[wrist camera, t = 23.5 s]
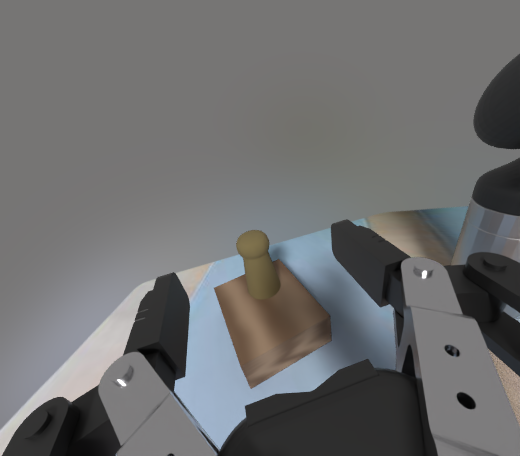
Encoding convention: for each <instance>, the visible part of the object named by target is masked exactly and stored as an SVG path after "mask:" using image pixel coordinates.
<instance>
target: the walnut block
mask: <svg viewBox="0 0 520 456" xmlns="http://www.w3.org/2000/svg"><path fill="white" fill-rule="evenodd" d="M272 263H273V265H274V268H275V270H276V273H277V275H278V278H279V280H280V283H281V287H280V289H279V291H278V292H277V293H276V294H275V295H274V296H272V297H271V298H268V299H261V300H260V299H255V298H253V297H251V296H250V294H249V293H248V288H247V281H246V274H244V275H242V276H240V277H238V278H235V279H233V280H231V281H229V282H227V283H224V284H222V285H220V286H218V287H215V288H214V290H215V293H216V296H217V298H218V301H219V304H220V307H221V310H222V313H223V316H224V319H225V322H226V325H227V328H228V331H229V334H230V337H231V339H232V342H233V345H234V348H235V351H236V354H237V357H238V360H239V363H240V366H241V368H242V370H243V373H244V375H245V377H246V379H247V381H248V384H249V386H250V388H251V389H252V388H253V387H255V386H257V385H258V384H260V383H262V382H263V381H265V380H267V379H268V378H270V377H272V376H273V375H275V374H277V373H278V372H280V371H282V370H283V369H285V368H287V367H288V366H290V365H292V364H293V363H295V362H297V361H298V360H300V359H302V358H303V357H305V356H307V355H308V354H310V353H312V352H313V351H315V350H317V349H318V348H320V347H322V346H323V345H325V344H327V343H328V342H330V341H332V339H331V322H330V315H329V314H328V313H327V312H326V311H325V310H324V309H323V307H322V306H321V305H320V304H319V303H318V302H317V301H316V300H315V299H314V298H313V296H312V295H311V294H310V293H309V292H308V291H307V290H306V289H305V288H304V286H303V285H302V284H301V283H300V282H299V281H298V280H297V279H296V278H295V276H294V275H293V274H292V273H291V272H290V271H289V270H288V269H287V268H286V267H285V265H284V264H283V263H282V262H281V261H280V260H279V259H278V260H276V261H273V262H272Z"/></svg>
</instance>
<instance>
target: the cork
mask: <svg viewBox="0 0 520 456" xmlns="http://www.w3.org/2000/svg"><path fill="white" fill-rule="evenodd" d="M236 246H237V250H238V253H239V254H240V255H241V256H242V257H243V260H244V267H245V274H246V281H247V288H248V293H249V294H250V296H251V297H253V298H255V299H260V300H261V299H268V298H271V297H272V296H274V295H275V294H276V293H277V292H278V291H279V289H280V287H281V283H280V280H279V278H278V275H277V273H276V270H275V268H274V265H273V263H272V260H271V258H270V255H269V253H268V249H269V240H268V238H267V236H266V234H265V233H263V232H262V231H259V230H251V231H248V232H245V233H244V234H242V235H241V236H240V237H239V238H238V240H237V243H236Z"/></svg>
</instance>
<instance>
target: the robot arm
mask: <svg viewBox="0 0 520 456" xmlns="http://www.w3.org/2000/svg"><path fill="white" fill-rule="evenodd" d="M474 128H475V132H476V133H477V136H478V137H479V138H480V139H481V140H482V141H483V142H485V143H486V144H488V145H490V146H494V147H497V148H506V149H520V54H519V55H518V56H516V57H515V58H514V59H513V60H512V61H510V62H509V63H508V64H507V65H506V66H505V67H504V68H503V69H502V70H501V71H500V72H499V73H498V74H497V76H496V77H495V78H494V79H493V80H492V81H491V83H490V84H489V86H488V87H487V88H486V90H485V91H484V93H483V95H482V97H481V99H480V100H479V103H478V105H477V107H476V110H475V115H474ZM331 237H332V251H333V254H334V256H335V258H336V259H337V261H338V262H339V263H340V264H341V265H342V266H343V267H344V268H345V269H346V270H347V272H348V273H349V274H350V275H351V276H352V277H353V278H354V279H355V280H356V281H357V283H358V284H359V285H360V286H361V287H362V288H363V289H364V290H365V291H366V292H367V293H368V295H369V296H370V297H371V298H372V299H373V300H374V301H375V302H376V303H377V304H378V306H379V307H383V306H386V305H388V304H390V305H391V306H392V307H393V308H394V310H393V318H394V331H395V344H396V371H395V370H390V369H382V368H374V367H373V366H372V364H371V363H370V361H369V360H368V359H366V360H364V361H361V362H358V363H356V364H353V365H351V366H348V367H345V368H343V369H340V370H338V371H337V372H336V373H335V374H333V375H332V376H331V377H330V378H328V379H327V380H326V381H325V382H324V383H322V384H321V385H320V386H319V387H317V388H316V389H315V390H313V391H311V392H300V393H283V394H275V395H272V396H270V397H267V398H265V399H262V400H259V401H257V402H254V403H252V404H249V405H246V406H245V410H246V418H245V419H244V420H242V421H241V422H240V423H239V424H238V425H237V426H236V427H235V428H234V430H233V431H232V432H231V434H230V435H229V436H228V438H227V439H226V441H225V442H224V444H223V445H222V447H221V449H219V448H218V447H217V445H216V444H215V443H214V441H213V440H212V439H211V438H210V437H209V435H208V434H207V433H206V432H205V430H204V429H203V428H202V427H201V425H200V424H199V423H198V421H197V420H196V419H195V418H194V416H193V415H192V414H191V412H190V411H189V410H188V408H187V407H186V406H185V405H184V403H183V402H182V401H181V399H180V398H179V397H178V395H177V394H176V393H175V392H174V386H175V380H177V379H180V378H183V377H185V371H186V356H187V342H188V327H189V312H190V303H189V298H188V296H187V293H186V292H185V290H184V288H183V286H182V284H181V282H180V280H179V279H178V277H177V275H176V274H175V273H174V272H173V273H170V274H167V275H164V276H160V277H158V278H157V279H156V282H155V285H154V289H153V290H152V291H149V292H148V293H147V294H146V295H145V297H144V298H143V299H142V301H141V303H140V306H139V309H138V313H137V315H136V318H135V322H134V324H133V327H132V330H131V333H130V336H129V339H128V342H127V345H126V348H125V351H124V354H123V356H122V357H120V358H119V359H117V360H116V361H115V362H114V363H113V364H112V365H111V366H110V367H109V368H108V369H107V370H106V372H105V373H104V375H103V376H102V378H101V381H100V383H99V385H98V386H96V387H95V388H93V389H91V390H90V391H88V392H87V393H85V394H84V395H82V396H80V397H79V398H77V399H76V400H74V401H73V402H70V401H69V400H67V399H66V398H64V397H57V398H53V399H51V400H49V401H47V402H45V403H44V404H42V405H41V406H39V407H38V408H37V409H36V410H34V411H33V412H32V413H31V414H30V415H29V416H28V417H27V418H26V419H25V420H24V421H23V423H22V424H21V425H20V426H19V428H18V429H17V430H16V432H15V433H14V435H13V437H12V438H11V440H10V442H9V444H8V446H7V447H6V449H5V451H4V453H3V455H2V456H116V453H117V456H520V426H519V424H518V421H517V419H516V417H515V414H514V412H513V409H512V407H511V404H510V402H509V399H508V397H507V394H506V392H505V390H504V387H503V385H502V382H501V380H500V377H499V375H498V372H497V370H496V368H495V365H494V363H493V360H492V358H491V355H490V353H489V350H490V351H491V352H493V353H494V354H495V355H496V356H497V357H498V358H499V359H500V360H502V361H503V362H504V363H505V364H506V365H507V366H508V367H509V368H511V369H512V370H513V371H514V372H515V373H516V374H517V375H519V376H520V323H519V322H518V321H517V320H515V319H514V318H517V317H518V316H520V158H518V159H516V160H515V161H512V162H510V163H508V164H506V165H504V166H501V167H499V168H496V169H494V170H491V171H489V172H487V173H485V174H483V175H482V176H481V177H480V178H479V179H478V181H477V182H476V185H475V188H474V191H473V194H472V197H471V200H470V204H469V207H468V210H467V213H466V217H465V220H464V223H463V226H462V230H461V233H460V236H459V239H458V243H457V246H456V249H455V252H454V255H453V259H452V262H451V265H450V266H442V265H441V264H440V263H438V262H436V261H434V260H431V259H428V258H423V257H410V256H408V255H407V254H406V253H404V252H403V251H401V250H400V249H398V248H397V247H395V246H394V245H393V244H391V243H390V242H388V241H385V239H384V238H382V237H381V236H379V235H378V234H377V233H375V232H374V231H372V230H371V229H368V228H366V227H363V226H356V225H355V224H353V223H352V222H351V221H349V220H343V221H340V222H337V223H334V224H332V225H331ZM488 349H489V350H488Z"/></svg>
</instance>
